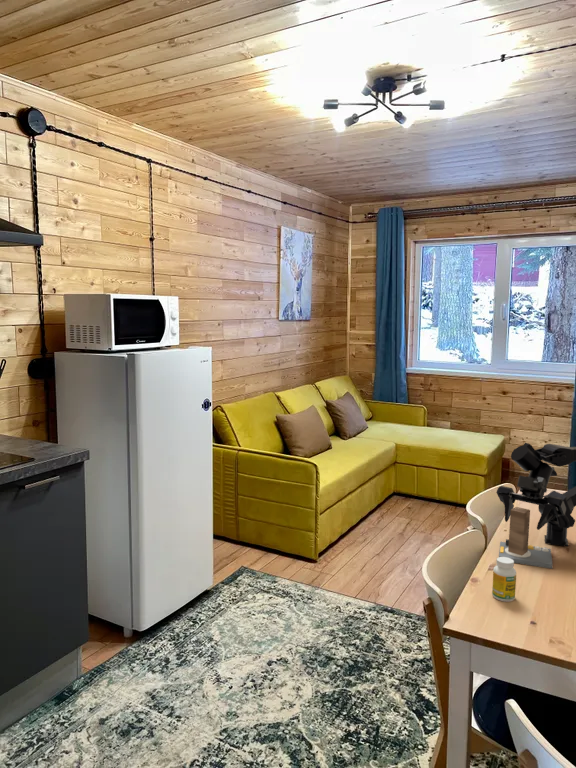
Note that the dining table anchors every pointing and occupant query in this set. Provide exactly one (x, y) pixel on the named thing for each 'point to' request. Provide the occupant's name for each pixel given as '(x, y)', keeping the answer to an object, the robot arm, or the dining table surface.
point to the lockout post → (519, 530)
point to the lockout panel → (528, 555)
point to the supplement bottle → (504, 580)
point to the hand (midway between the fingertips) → (521, 525)
